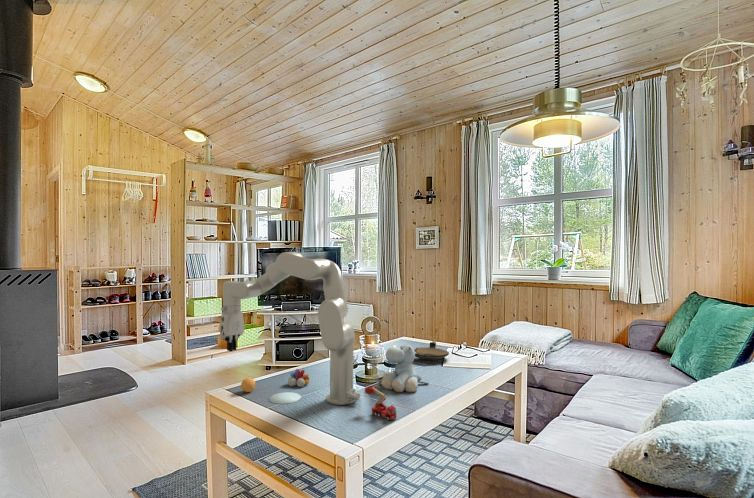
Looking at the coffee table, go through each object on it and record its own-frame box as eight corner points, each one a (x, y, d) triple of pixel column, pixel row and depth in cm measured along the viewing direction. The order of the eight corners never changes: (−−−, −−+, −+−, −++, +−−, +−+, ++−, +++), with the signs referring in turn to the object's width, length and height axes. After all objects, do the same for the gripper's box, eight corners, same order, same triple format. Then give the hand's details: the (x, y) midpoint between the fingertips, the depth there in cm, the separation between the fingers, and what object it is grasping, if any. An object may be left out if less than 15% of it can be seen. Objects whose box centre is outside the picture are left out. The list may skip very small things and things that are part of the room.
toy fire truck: (392, 421, 150) (392, 395, 150) (364, 411, 159) (364, 386, 159) (397, 419, 152) (397, 392, 152) (370, 409, 162) (370, 384, 162)
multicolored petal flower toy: (305, 388, 186) (305, 372, 186) (285, 387, 188) (285, 371, 188) (312, 382, 194) (312, 367, 194) (292, 381, 196) (292, 366, 196)
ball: (258, 391, 182) (258, 377, 182) (247, 395, 177) (247, 381, 177) (248, 388, 185) (248, 375, 185) (237, 392, 180) (237, 378, 180)
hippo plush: (375, 382, 194) (375, 343, 194) (421, 378, 200) (421, 340, 200) (387, 395, 177) (387, 352, 177) (436, 391, 183) (436, 349, 183)
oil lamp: (400, 360, 233) (400, 346, 233) (428, 350, 256) (428, 338, 256) (435, 367, 219) (435, 353, 219) (461, 356, 243) (461, 343, 243)
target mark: (307, 396, 175) (307, 395, 175) (285, 406, 164) (285, 405, 164) (284, 390, 182) (284, 390, 182) (262, 399, 171) (262, 399, 171)
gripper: (222, 312, 176) (222, 355, 176) (251, 307, 189) (251, 348, 189) (211, 310, 180) (211, 353, 180) (240, 306, 193) (240, 346, 193)
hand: (231, 350), depth 185 cm, fingers closed
